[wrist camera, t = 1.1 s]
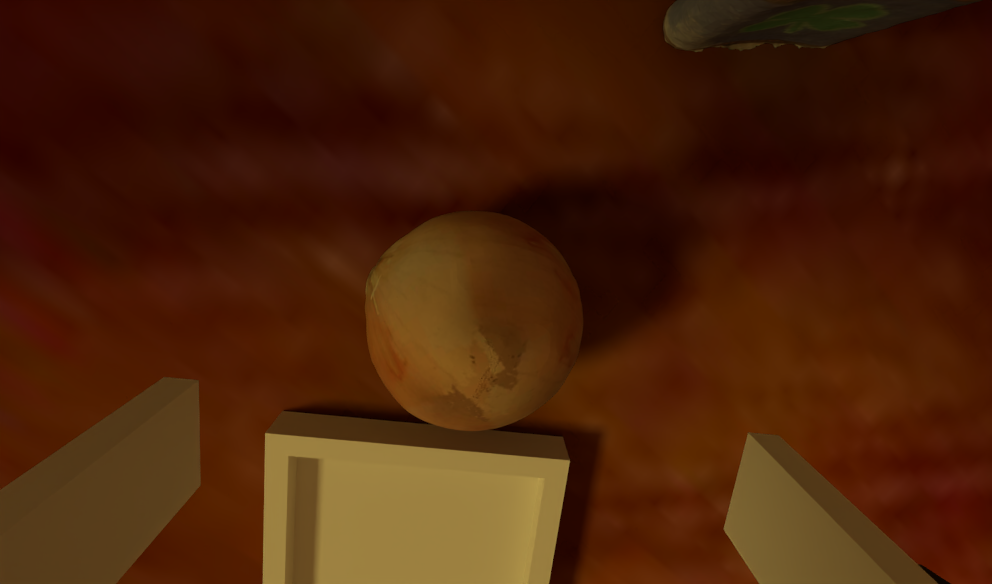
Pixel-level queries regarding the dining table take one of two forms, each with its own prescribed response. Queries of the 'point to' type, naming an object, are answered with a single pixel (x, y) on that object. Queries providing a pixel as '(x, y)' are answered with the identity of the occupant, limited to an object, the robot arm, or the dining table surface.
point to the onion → (473, 320)
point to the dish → (408, 503)
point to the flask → (787, 21)
